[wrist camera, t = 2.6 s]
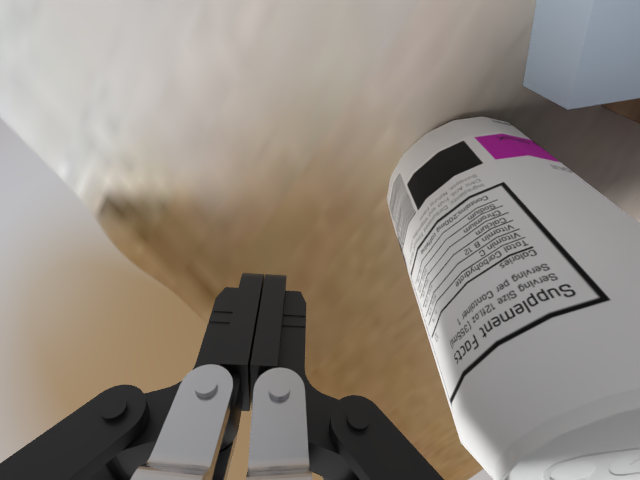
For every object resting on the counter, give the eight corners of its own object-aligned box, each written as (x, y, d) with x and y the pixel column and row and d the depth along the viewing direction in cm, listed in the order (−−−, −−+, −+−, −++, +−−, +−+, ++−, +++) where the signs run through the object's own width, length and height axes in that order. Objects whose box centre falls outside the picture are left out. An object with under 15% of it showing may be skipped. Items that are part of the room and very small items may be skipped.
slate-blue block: (537, -13, 15) (596, -9, 12) (636, -32, 15) (724, -33, 12) (522, 85, 18) (567, 109, 15) (607, 70, 17) (673, 92, 14)
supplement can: (531, 90, 18) (984, 333, 6) (527, 221, 22) (771, 507, 10) (371, 139, 19) (466, 416, 7) (399, 253, 24) (484, 536, 12)
